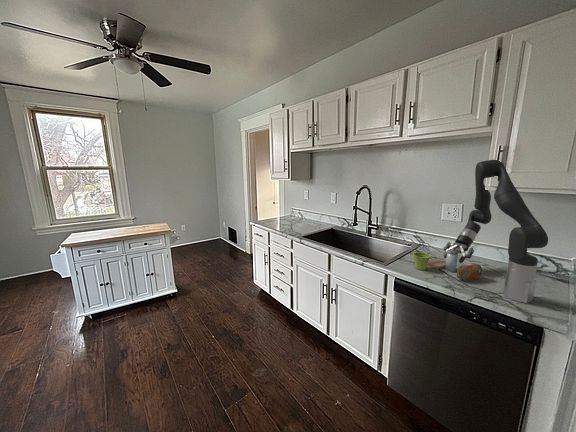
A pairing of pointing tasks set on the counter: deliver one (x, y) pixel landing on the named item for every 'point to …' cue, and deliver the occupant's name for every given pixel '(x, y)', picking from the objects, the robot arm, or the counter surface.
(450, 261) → the blue jar
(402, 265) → the counter surface
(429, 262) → the tan board
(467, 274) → the tin
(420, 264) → the plant pot
